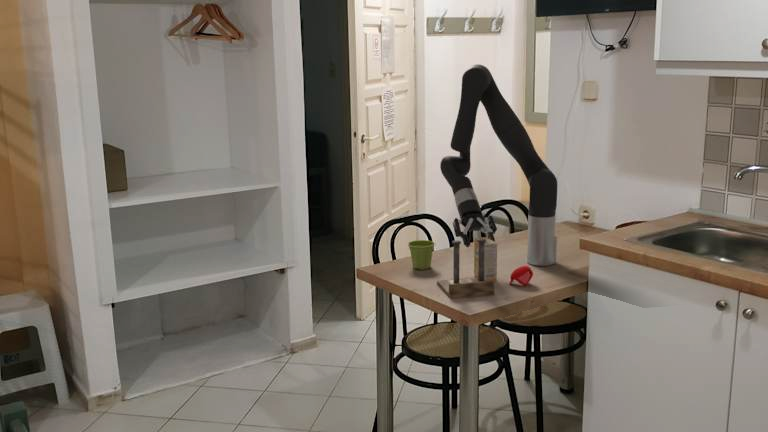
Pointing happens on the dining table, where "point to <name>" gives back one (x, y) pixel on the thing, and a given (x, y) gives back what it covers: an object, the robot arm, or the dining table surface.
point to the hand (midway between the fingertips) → (480, 245)
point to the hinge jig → (467, 285)
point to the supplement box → (486, 259)
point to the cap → (522, 275)
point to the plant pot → (421, 253)
